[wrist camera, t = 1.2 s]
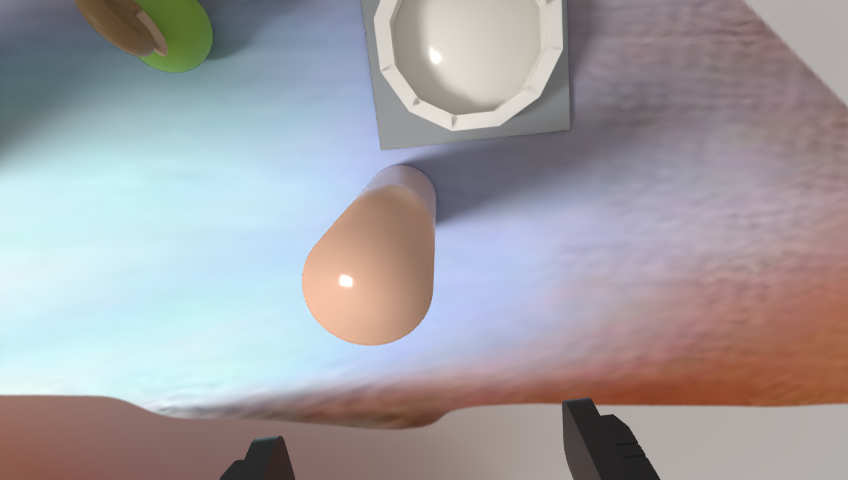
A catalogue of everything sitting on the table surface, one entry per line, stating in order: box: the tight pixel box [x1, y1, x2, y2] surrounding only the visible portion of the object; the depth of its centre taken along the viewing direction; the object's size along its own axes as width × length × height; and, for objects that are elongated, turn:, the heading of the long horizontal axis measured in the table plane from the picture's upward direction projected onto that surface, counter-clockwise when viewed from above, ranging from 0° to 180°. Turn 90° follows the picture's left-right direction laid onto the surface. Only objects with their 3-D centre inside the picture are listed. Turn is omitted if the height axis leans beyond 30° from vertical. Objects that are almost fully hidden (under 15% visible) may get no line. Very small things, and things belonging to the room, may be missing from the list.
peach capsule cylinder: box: [302, 165, 436, 346], centre depth 29 cm, size 6×6×18 cm
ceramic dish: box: [374, 0, 563, 131], centre depth 32 cm, size 12×12×3 cm
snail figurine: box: [75, 0, 213, 73], centre depth 29 cm, size 5×6×12 cm
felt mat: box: [361, 0, 570, 150], centre depth 34 cm, size 14×14×1 cm
